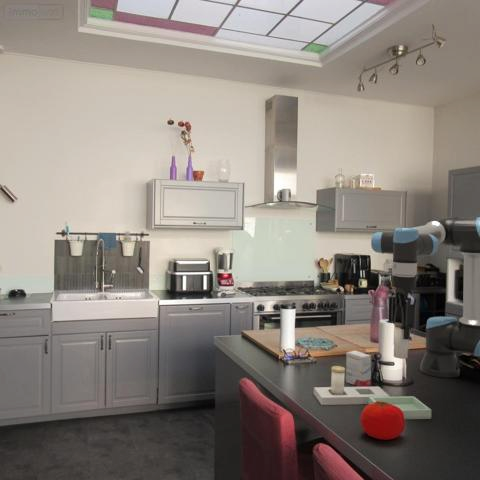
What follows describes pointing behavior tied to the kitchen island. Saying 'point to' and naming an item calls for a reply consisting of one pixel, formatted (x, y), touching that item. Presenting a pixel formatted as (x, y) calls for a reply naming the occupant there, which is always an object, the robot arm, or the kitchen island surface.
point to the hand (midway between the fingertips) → (401, 346)
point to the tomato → (382, 420)
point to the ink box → (358, 369)
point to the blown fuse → (397, 351)
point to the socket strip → (345, 391)
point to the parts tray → (406, 406)
